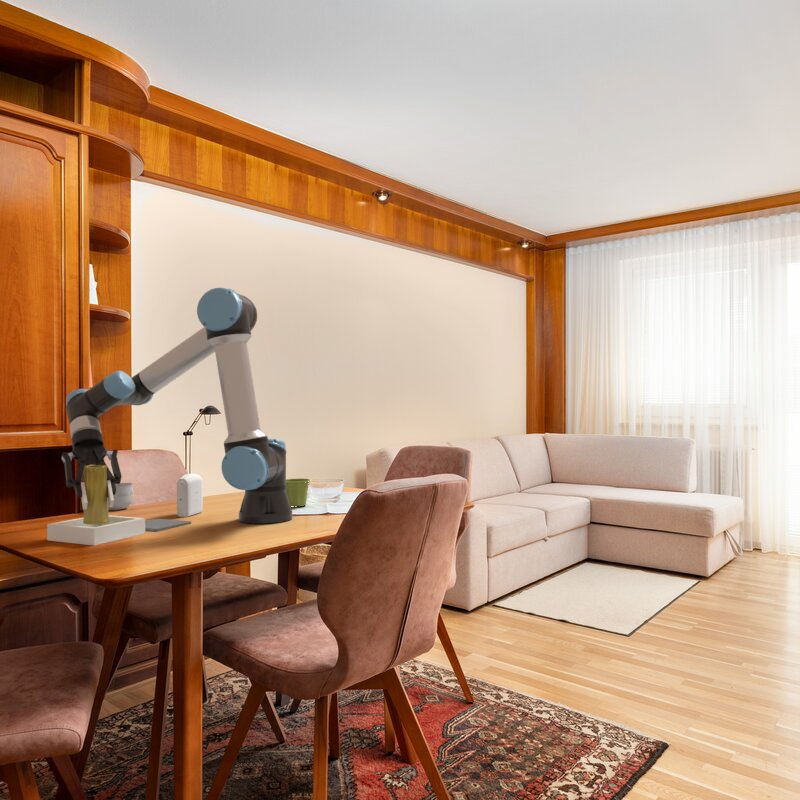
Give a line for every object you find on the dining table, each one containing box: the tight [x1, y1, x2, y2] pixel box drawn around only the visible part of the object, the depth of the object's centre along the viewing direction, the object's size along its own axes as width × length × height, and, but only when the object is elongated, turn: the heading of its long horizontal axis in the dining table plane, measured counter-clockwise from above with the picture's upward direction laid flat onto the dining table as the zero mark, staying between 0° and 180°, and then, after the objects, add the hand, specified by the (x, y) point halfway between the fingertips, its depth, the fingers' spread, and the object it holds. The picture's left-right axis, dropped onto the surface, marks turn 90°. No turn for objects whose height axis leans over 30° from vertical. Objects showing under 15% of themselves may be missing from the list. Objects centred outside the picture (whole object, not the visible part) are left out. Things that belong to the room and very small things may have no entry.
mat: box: [145, 518, 192, 532], centre depth 188 cm, size 13×13×1 cm
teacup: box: [108, 482, 134, 511], centre depth 221 cm, size 14×11×8 cm
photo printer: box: [176, 473, 204, 518], centre depth 207 cm, size 10×4×12 cm, turn 168°
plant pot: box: [286, 478, 311, 507], centre depth 222 cm, size 9×9×9 cm
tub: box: [46, 514, 146, 546], centre depth 172 cm, size 16×16×4 cm
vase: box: [83, 464, 109, 524], centre depth 172 cm, size 6×6×14 cm
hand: (98, 504), depth 169 cm, fingers closed on vase, 5 cm apart
